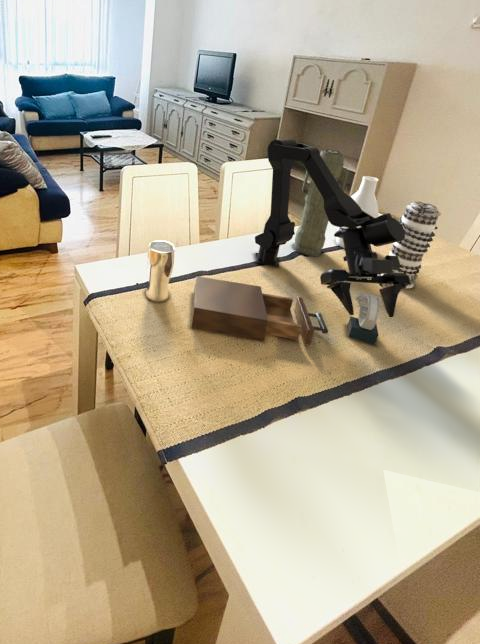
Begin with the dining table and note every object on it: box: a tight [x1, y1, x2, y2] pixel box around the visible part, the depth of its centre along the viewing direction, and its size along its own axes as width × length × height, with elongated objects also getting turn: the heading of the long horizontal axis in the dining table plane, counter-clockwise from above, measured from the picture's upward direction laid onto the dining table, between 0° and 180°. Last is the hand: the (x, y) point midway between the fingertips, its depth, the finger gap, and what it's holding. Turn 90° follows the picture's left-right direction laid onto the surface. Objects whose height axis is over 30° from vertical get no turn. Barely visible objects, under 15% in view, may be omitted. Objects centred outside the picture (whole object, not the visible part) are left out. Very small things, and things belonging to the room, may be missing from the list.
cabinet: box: [191, 275, 268, 342], centre depth 96 cm, size 17×14×6 cm
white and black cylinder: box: [380, 201, 442, 289], centre depth 112 cm, size 9×9×25 cm
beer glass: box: [145, 239, 176, 303], centre depth 102 cm, size 7×7×15 cm
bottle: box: [335, 175, 380, 250], centre depth 132 cm, size 11×11×25 cm
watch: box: [346, 293, 383, 346], centre depth 91 cm, size 6×8×11 cm
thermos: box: [293, 148, 350, 257], centre depth 126 cm, size 9×12×35 cm
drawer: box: [262, 292, 329, 346], centre depth 94 cm, size 20×12×4 cm, turn 78°
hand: (371, 316), depth 90 cm, fingers open, 9 cm apart
